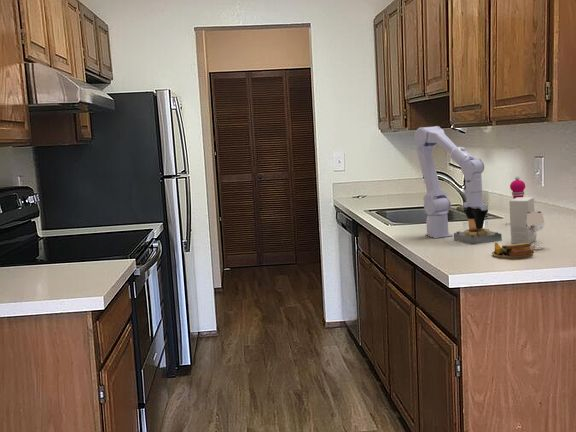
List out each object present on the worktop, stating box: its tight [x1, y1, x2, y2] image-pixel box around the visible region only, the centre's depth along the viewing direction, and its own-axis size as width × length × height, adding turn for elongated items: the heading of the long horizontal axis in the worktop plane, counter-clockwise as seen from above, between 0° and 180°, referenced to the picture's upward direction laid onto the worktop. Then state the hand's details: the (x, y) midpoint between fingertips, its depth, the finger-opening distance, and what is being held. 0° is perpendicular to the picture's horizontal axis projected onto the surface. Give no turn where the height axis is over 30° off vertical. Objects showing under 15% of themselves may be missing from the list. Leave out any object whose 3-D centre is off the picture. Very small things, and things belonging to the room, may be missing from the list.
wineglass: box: [525, 210, 545, 250], centre depth 199 cm, size 6×6×12 cm
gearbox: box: [453, 227, 503, 245], centre depth 226 cm, size 17×12×4 cm
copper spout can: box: [467, 218, 482, 232], centre depth 224 cm, size 4×4×7 cm
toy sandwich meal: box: [491, 242, 535, 260], centre depth 191 cm, size 12×14×5 cm
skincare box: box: [509, 196, 535, 245], centre depth 211 cm, size 8×7×16 cm
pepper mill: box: [509, 176, 526, 199], centre depth 252 cm, size 7×7×20 cm
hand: (476, 227), depth 224 cm, fingers closed on copper spout can, 4 cm apart
